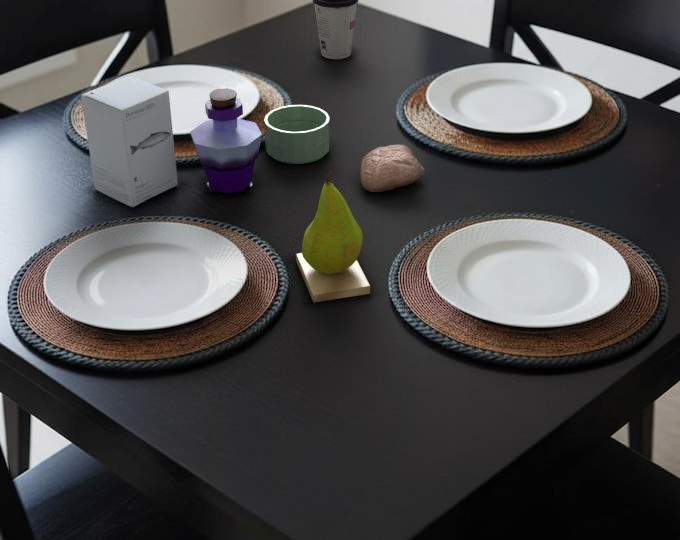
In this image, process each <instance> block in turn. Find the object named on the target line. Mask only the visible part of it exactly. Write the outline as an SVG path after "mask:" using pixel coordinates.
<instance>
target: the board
mask: <svg viewBox="0 0 680 540" xmlns="http://www.w3.org/2000/svg"><path fill="white" fill-rule="evenodd" d="M295 262H296V263H297V267H298V269H299V271H300V274H301V276H302V278H303V281H304V284H305V286H306V288H307V290H308V292H309V295H310V298H311V300H312V302H313V303H319V302H326V301H332V300H333V301H334V300H338V299H339V300H340V299H345V298H350V297H351V298H352V297H359V296H365V295H369V294H371V285H370V283H369V281H368V278H367V276H366V275H365V273H364V271H363V269H362V267H361V266H360V263H359V261H358V259H357V260H356V261H355V262H354V263H353V265H351V266H350V267H349V268H347V269H346V270H345V271H343V272H340V273H336V274H326V273H323V272H320V271H317V270H315V269H313V268H312V267H311V266H310V265H309V264H308V263H307V262H306V260H305V259H304V258H303V255H302V252H299V253H295Z"/></svg>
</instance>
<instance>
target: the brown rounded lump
mask: <svg viewBox="0 0 680 540" xmlns="http://www.w3.org/2000/svg"><path fill="white" fill-rule="evenodd" d="M423 175H425V168H424V167H423V166H422V164H421V163H420V161H419V160H418V159H417V158H416V157H415V156H414V154H413V151H412V150H411V149H410V147H408V146H407V145H405V144H399V143H398V144H390V145H387V146H377V147H376V148H375V149H373V150H371V151H370V152H368V153H367V154H366V155H365V156H364V157H363V158H362V161H361V163H360V173H359V179H360V184H361V185H362V188H363V189H365V190H366V192H370V193H381V192H386V191H393V190H394V189H397V188H400V187H406V186H409V185H411V184H413V183H414V182H416V181H417V180H418V179H419V178H420V177H421V176H423Z"/></svg>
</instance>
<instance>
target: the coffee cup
mask: <svg viewBox="0 0 680 540" xmlns="http://www.w3.org/2000/svg"><path fill="white" fill-rule="evenodd" d="M312 2H313V4H314V10H315V11H314V12H315V19H316V25H317V26H316V27H317V33H318V40H319V46H320V53H321V56H322V57H324V58H326V59H330V60H331V59H332V60H342V59H347V58H349V57H350V56H351V54H352V48H353V39H354V29H355V21H356V13H357V5H358V3H359V0H312Z"/></svg>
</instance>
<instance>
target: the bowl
mask: <svg viewBox="0 0 680 540" xmlns="http://www.w3.org/2000/svg"><path fill="white" fill-rule="evenodd" d="M329 115H330V114H328V112H327V111H326V110H324V109H322V108H320V107H316V106H313V105H307V104H291V105H285V106H279V107H277V108H275V109H273V110H270V111H269V112H268V113H266V114H265V116H264V119H263V125H264V126H263V128H264V145H265V146H264V147H265V150H266V153H267V155H269V156H270V157H271V158H273V159H274V160H275V161H278V162H280V163H285V164H289V165H290V164H292V165H298V164H299V165H303V164H309V163H313V162H317V161H319V160H321V159H322V158H323V157H325V156H326V155H327V154H328V153H329V152H330V149H331V116H329Z"/></svg>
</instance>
